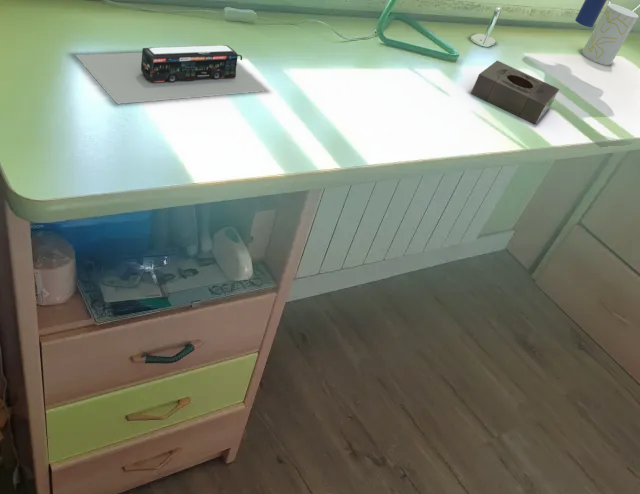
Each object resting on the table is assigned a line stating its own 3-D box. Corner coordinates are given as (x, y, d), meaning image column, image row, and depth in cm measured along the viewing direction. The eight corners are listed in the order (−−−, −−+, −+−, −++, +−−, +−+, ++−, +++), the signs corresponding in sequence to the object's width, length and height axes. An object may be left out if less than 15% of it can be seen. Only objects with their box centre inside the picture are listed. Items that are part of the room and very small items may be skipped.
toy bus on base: (265, 91, 98) (270, 65, 95) (117, 103, 84) (117, 74, 81) (220, 49, 105) (223, 24, 102) (75, 55, 91) (74, 26, 88)
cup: (577, 52, 159) (602, 4, 150) (588, 49, 164) (614, 2, 156) (604, 66, 156) (632, 18, 148) (615, 62, 161) (642, 16, 153)
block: (549, 107, 125) (559, 89, 122) (535, 124, 117) (545, 105, 114) (488, 78, 128) (497, 60, 125) (470, 93, 120) (479, 73, 117)
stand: (467, 39, 143) (480, 34, 149) (485, 48, 142) (497, 42, 147) (481, 5, 138) (493, 1, 144) (500, 14, 137) (512, 10, 142)
